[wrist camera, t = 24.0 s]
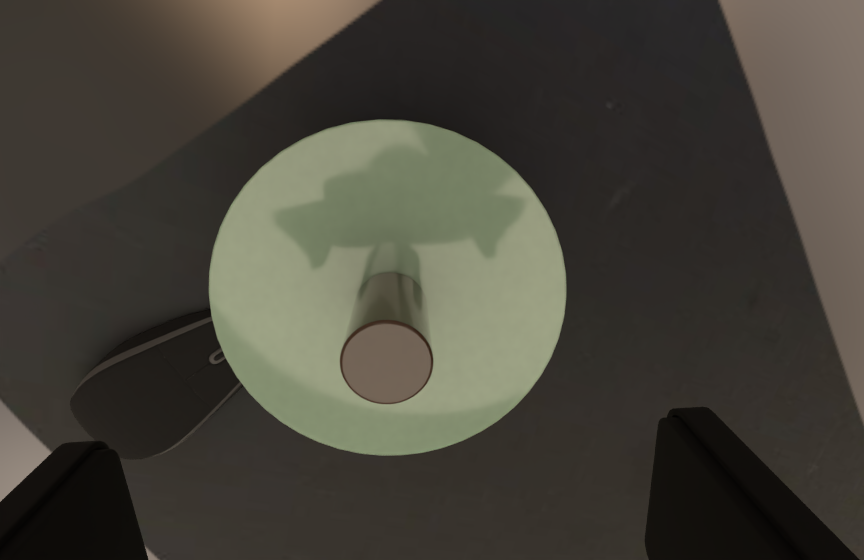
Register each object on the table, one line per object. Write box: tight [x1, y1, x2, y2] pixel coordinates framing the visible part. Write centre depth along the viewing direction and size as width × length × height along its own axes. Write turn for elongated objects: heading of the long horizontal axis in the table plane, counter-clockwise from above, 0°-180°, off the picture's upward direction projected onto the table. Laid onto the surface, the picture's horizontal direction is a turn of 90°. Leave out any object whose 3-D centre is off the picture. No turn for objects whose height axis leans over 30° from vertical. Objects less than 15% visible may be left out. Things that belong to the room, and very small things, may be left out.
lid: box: [209, 119, 567, 455], centre depth 17 cm, size 13×13×6 cm
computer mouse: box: [70, 310, 243, 459], centre depth 31 cm, size 7×12×4 cm, turn 121°
